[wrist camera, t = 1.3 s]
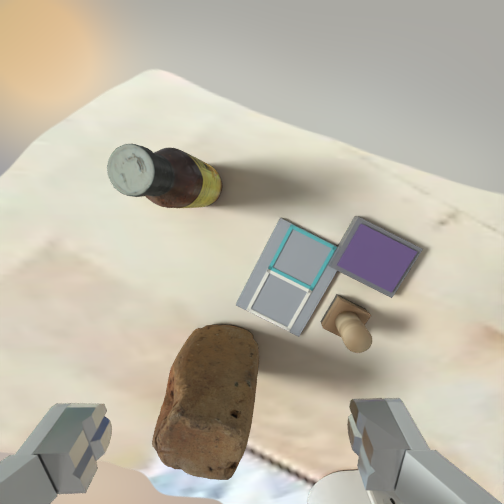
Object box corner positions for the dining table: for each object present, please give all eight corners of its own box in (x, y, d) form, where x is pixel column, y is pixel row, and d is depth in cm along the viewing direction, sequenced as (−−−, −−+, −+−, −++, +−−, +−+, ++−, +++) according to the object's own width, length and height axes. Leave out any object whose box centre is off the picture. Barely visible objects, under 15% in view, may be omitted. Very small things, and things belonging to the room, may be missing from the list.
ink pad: (416, 247, 40) (424, 249, 38) (386, 294, 42) (393, 299, 40) (354, 216, 40) (359, 216, 38) (327, 264, 42) (330, 267, 39)
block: (264, 332, 44) (256, 435, 25) (251, 373, 46) (235, 501, 26) (199, 313, 45) (141, 399, 25) (188, 354, 46) (125, 466, 26)
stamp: (365, 308, 43) (386, 332, 35) (349, 335, 43) (365, 364, 36) (336, 294, 42) (350, 314, 35) (320, 321, 43) (330, 347, 36)
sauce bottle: (225, 166, 40) (181, 133, 21) (220, 209, 42) (173, 216, 22) (181, 160, 41) (97, 121, 21) (178, 203, 42) (94, 204, 22)
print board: (346, 251, 41) (348, 252, 40) (298, 334, 44) (299, 337, 43) (280, 217, 41) (280, 218, 40) (236, 303, 44) (235, 305, 43)
